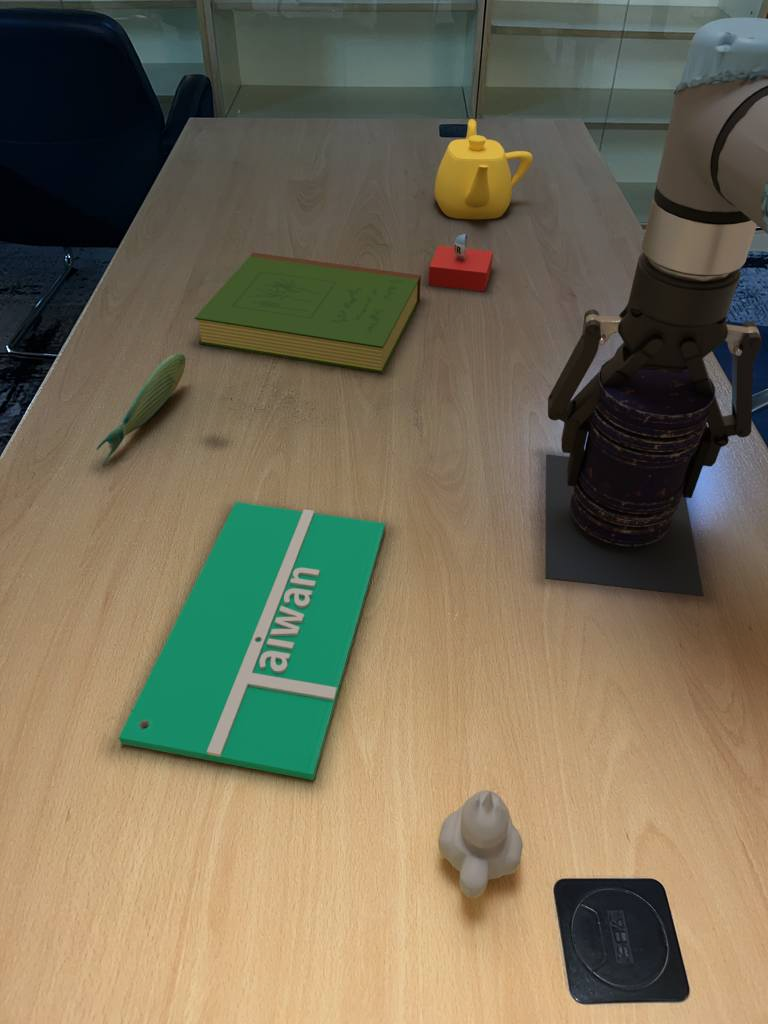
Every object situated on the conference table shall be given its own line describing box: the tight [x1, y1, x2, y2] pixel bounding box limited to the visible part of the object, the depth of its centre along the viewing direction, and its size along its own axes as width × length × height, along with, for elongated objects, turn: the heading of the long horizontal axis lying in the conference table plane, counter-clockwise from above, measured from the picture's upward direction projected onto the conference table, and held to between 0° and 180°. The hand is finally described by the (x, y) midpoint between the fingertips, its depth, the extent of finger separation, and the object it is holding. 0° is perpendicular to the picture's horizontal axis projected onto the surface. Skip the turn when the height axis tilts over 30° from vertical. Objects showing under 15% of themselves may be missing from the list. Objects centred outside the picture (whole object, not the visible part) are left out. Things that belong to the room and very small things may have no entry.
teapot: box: [433, 118, 534, 220], centre depth 131 cm, size 22×16×11 cm
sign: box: [118, 501, 386, 781], centre depth 69 cm, size 27×1×15 cm
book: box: [194, 252, 422, 374], centre depth 105 cm, size 25×19×4 cm
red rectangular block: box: [428, 233, 494, 292], centre depth 114 cm, size 8×7×6 cm
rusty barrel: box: [570, 357, 716, 546], centre depth 73 cm, size 10×10×15 cm
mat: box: [544, 454, 705, 597], centre depth 79 cm, size 18×14×1 cm
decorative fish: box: [96, 352, 219, 466], centre depth 88 cm, size 7×18×10 cm
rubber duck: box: [437, 789, 524, 899], centre depth 52 cm, size 5×7×8 cm
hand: (628, 482), depth 76 cm, fingers closed on rusty barrel, 10 cm apart
